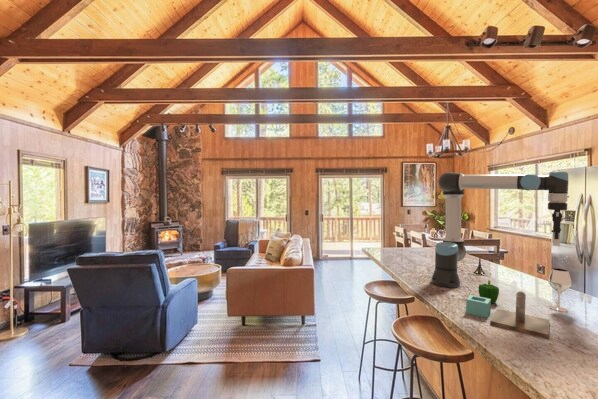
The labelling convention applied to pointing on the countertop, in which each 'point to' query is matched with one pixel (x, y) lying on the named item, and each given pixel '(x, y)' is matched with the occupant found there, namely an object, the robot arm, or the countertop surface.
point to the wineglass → (559, 284)
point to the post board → (521, 326)
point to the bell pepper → (489, 291)
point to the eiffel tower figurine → (480, 269)
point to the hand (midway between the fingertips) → (555, 244)
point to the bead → (478, 306)
